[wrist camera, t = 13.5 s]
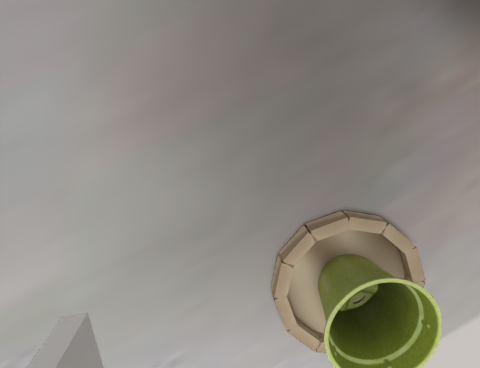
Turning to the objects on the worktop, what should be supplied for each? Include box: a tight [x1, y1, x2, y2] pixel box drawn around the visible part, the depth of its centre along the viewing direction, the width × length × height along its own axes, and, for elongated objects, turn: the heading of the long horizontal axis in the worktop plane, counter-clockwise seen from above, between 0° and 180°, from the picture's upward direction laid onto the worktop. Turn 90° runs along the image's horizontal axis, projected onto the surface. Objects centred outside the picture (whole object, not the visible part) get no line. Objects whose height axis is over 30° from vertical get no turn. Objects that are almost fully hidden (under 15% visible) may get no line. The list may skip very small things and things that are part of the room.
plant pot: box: [318, 254, 442, 368], centre depth 34 cm, size 9×9×9 cm
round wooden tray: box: [271, 210, 425, 353], centre depth 38 cm, size 14×14×2 cm
